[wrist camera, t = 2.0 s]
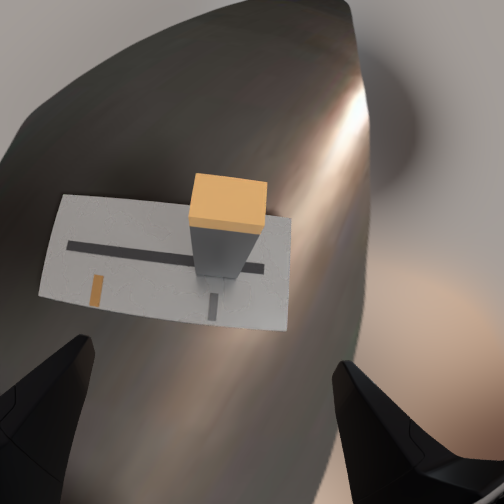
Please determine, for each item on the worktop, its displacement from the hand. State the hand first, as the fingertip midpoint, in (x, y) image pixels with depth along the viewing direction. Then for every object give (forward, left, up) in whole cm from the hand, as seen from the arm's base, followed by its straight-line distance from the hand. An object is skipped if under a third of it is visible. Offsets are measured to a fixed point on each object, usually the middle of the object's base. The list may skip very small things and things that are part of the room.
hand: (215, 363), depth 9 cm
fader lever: (+6, +2, -10) cm, 12 cm away
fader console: (+5, +6, -12) cm, 15 cm away
